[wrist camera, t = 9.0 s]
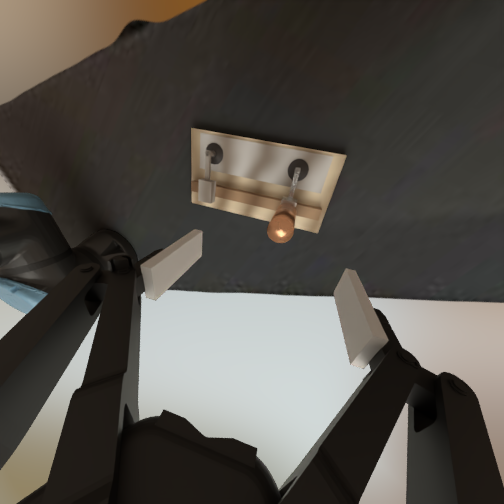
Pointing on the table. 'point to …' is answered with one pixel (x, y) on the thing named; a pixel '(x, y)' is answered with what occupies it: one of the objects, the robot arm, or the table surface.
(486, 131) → the table surface
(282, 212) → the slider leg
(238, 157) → the holed mounting plate
